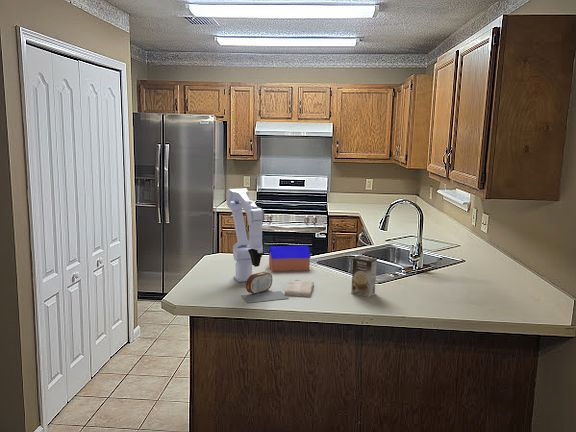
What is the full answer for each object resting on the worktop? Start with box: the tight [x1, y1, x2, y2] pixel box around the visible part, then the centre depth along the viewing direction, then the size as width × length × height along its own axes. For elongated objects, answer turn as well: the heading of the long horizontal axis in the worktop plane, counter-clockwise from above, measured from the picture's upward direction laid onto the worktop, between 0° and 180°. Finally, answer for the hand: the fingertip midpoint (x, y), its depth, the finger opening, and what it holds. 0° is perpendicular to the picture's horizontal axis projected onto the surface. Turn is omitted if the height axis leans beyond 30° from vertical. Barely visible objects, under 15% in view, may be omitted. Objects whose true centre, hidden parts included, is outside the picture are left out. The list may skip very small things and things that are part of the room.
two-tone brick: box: [268, 245, 311, 272], centre depth 265 cm, size 12×20×12 cm, turn 100°
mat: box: [240, 290, 289, 304], centre depth 218 cm, size 10×18×1 cm, turn 111°
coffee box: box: [350, 254, 378, 298], centre depth 225 cm, size 9×6×16 cm
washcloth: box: [284, 279, 315, 298], centre depth 229 cm, size 12×18×3 cm, turn 174°
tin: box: [245, 271, 273, 294], centre depth 224 cm, size 15×3×8 cm, turn 141°
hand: (255, 265), depth 229 cm, fingers open, 2 cm apart
